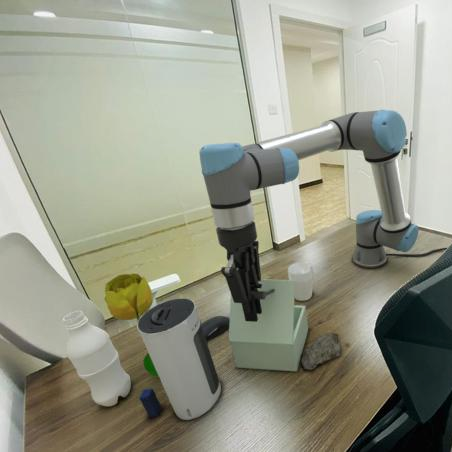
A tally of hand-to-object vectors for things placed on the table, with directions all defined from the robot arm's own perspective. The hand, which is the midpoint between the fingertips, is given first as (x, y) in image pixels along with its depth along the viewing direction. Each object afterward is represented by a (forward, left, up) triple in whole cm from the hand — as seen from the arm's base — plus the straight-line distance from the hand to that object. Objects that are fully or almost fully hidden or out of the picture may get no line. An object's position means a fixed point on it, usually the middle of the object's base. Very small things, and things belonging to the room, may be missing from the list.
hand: (253, 316), depth 61 cm
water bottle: (+35, +9, -19) cm, 41 cm away
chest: (0, -8, -18) cm, 20 cm away
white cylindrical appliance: (+14, +8, -19) cm, 25 cm away
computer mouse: (+22, -9, -19) cm, 30 cm away
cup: (-3, -32, -19) cm, 37 cm away
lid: (0, -4, -2) cm, 5 cm away
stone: (-14, -7, -19) cm, 24 cm away
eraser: (+22, +12, -19) cm, 31 cm away
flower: (+27, +3, -19) cm, 33 cm away
